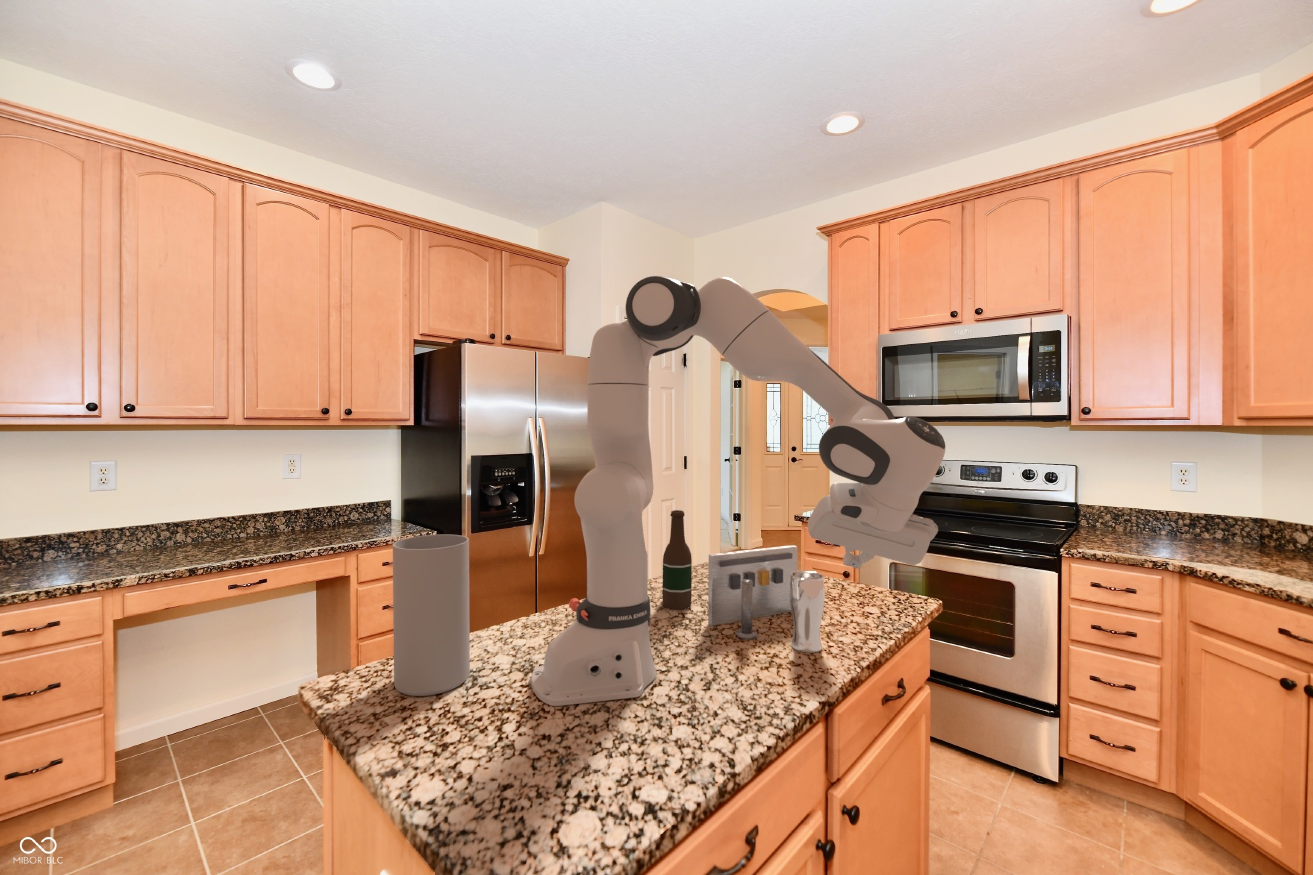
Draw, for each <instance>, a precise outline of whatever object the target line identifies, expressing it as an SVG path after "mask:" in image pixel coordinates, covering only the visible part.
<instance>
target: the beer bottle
mask: <svg viewBox="0 0 1313 875" xmlns="http://www.w3.org/2000/svg"><path fill="white" fill-rule="evenodd" d="M669 516H670V517H671V521H670V534H669V535H670V536H669V542H668V544H667V545H666V546H665V549H664V552H663V556H662V606H663V607H664V608H666V609H668V610H673V611H674V610H675V611H678V610H679V611H683V610H685V609H690V608H691V607H692V595H693V594H692V591H693V589H692V586H693V585H692V584H693V583H692V579H693V577H692V574H693V573H692V566H693V565H692V564H693V561H692V559H693V558H692V553H691V549H690V547H689V545H688V544H687V542H686V538H685V521H684V520H685V519H684V517H685V512H684V510H680V509H678V510H677V509H674V510H671V512H670V515H669Z"/></svg>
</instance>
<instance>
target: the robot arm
mask: <svg viewBox="0 0 1313 875" xmlns="http://www.w3.org/2000/svg"><path fill="white" fill-rule="evenodd" d="M624 308H625V315H626V316H625V317H626V319H627V320H625V321H623V322H615V323H610V324H609V323H608V324H606V325H603V326H602V327H601V328H599V329H597V330H596V331H595V333H594V335H593V338H592V343H591V348H590V353H589V359H588V366H587V367H588V369H587V412H586V413H587V414H586V415H587V418H586V419H587V421H586V422H587V425H586V426H587V432H588V434H589V438H590V442H591V445H592V452H593V456H594V463H595V464H594V466H595V467H593V468H592V469H590V470H589V471H588V472H587V473H586V474H585V475H584V476H583V477H582V479H581V480H580V482H579V483H578V485H577V488H576V489H575V492H574V501H573V502H574V507H575V510H576V513H577V515H578V517H579V518H580V524H581V531H582V535H583V539H584V540H583V541H584V546H585V554H586V594H587V595H586V597H585V598H584V599H583V600H582V601H581V602H580V600H579V599H578V598H576V597H574V598H571V599H570V601H569V602H568V607H569V608H570V609H571V611H572V612H574V613H576V619H575V621H573V622H571V624H570V625H569V626H568V627H567V628H565V629H564V630H562V631H561V632H560V633H559V634H558V635H557V636H556V637H555V638H553V639H552V640H551V641H550V642H549V644H548V645H547V648H546V651H545V655H544V662H543V665H540V666H537V667H535V668H534V669H533V671H532V674H531V677H530V678H531V679H530V685H531V689H532V691H533V692H534V694H535V696H536V697H537V698H538V699H539V700H540V701H541V702H543V703H544V704H547V705H549V706H552V707H560V706H570V705H577V704H588V703H595V702H605V701H614V700H622V699H631V698H637V697H640V696H641V695H643V693H644V689H646V687H647V686H648V685H649V684H651V683H652V682H653V681H655V678H656V677H657V670H656V665H655V662H654V659H653V654H652V648H651V639H650V631H649V627H650V626H651V612H652V611H651V599H650V596H649V595H648V591H649V589H648V588H649V587H648V584H649V583H648V582H649V581H648V580H649V579H648V578H649V577H648V575H649V574H648V570H649V569H648V568H649V567H648V565H649V564H648V561H649V560H648V557H649V555H648V551H647V549H646V542H645V537H644V527H643V511H644V510H646V508H647V507H648V506H649V505H650V503H651V501H652V498H653V495H654V480H653V479H654V477H653V463H652V461H653V460H652V451H651V442H650V431H649V430H650V429H649V407H650V406H649V404H650V403H649V398H650V396H649V393H650V392H649V391H650V389H649V388H650V386H649V382H650V380H649V379H650V378H649V374H650V371H649V370H650V363H651V359H652V357H658V356H660V355H661V356H662V355H663V354H666V353H669V352H673V351H676V350H678V349H679V350H680V349H681V348H683V347H685V346H687V344H689V342H690V341H691V340H692V339H693V338H694V336H697V337H701V338H703V339H705V340H706V341H707V342H708V343H710V345H712V346H713V347H714V348H715V349H716V351H717V352H719V354H720V355H721V356H722V357H723V358H724V359H725V360H726V361H727V362H728V363H729V365H731V367H733V369H735V370H736V371H737V372H739V373H740V374H741V375H743V376H745V377H746V378H748V379H749V380H751V381H755V382H783V383H784V382H785V383H788V384H792V385H794V386H796V387H798V388H799V389H801V390H802V391H803V392H804V393H805V394H806V395H808V396H809V397H810V399H812V401H814V402H815V403H817V405H819V407H821V408H822V409H823V410H824V411H826V413H827V414H829V416H830V417H831V419H832V423H831V425H830V426H829V427H828V428H827V430H826V431H825V432H824V433H823V435H822V436H821V438H820V440H819V444H818V453H819V457H820V459H821V462H822V463H823V465H825V467H826V468H827V469H828V470H829V471H830V472H831V473H833V474H835V475H838V476H839V477H842V478H845V479H848V480H850V481H853V482H833V483H832V484H831V486H829V495H826V496H824V497H823V498H821V499H820V500H819V501H818V503H817V505H816V506H815V507H814V509H813V510H812V512H811V514H810V516H809V518H808V521H807V530H808V534H809V536H810V537H811V538H812V539H815V540H817V541H821V542H826V543H829V544H833V545H836V546H840V547H844V551H845V554H844V556H843V557H842V564H843V565H844V566H848V567H851V568H854V569H859V570H860V569H861V567H862V566H863V564H865V563H867V562H869V561H871V560H873V559H874V558H875V556H877V557H880V558H885V559H888V560H892V561H895V562H899V563H904V564H906V565H910V566H916V565H919V564H920V563H921V562H922V561H923V560H924V558H925V556H926V553H927V552H928V549H929V546H930V542H931V541H932V540H934V538H935V537H936V535H937V534H938V532H939V526H938V525H937V524H936V523H935V522H934V520H933V519H931V518H927V517H923V516H922V517H921V516H919V515H917V514H914V511H915V509H916V508H917V506H918V504H919V499H920V497H921V495H922V493H923V492H924V491H926V489H928V488H929V486H930V485H931V483H932V481H934V478H935V476H936V474H937V472H938V470H939V469H940V467H941V464H942V462H943V459H944V457H945V454H946V442H945V439H944V437H943V435H942V433H941V432H940V431H938V429H936V427H935V426H934V425H932V424H931V423H929V422H928V421H926V420H924V419H922V418H919V417H915V416H910V415H909V416H908V415H907V416H904V417H902V418H897V419H896V417H895V415H894V413H893V411H892V410H891V409H890V408H889V407H888V406H887V405H886V404H884V403H883V402H881V401H880V400H878V399H876V398H874V397H871V396H869V395H867V394H865V393H862V392H861V391H858V390H857V389H856V388H855V387H853V386H852V384H850V383H849V382H848V381H846V379H844V378H843V377H842V375H840V374H839V373H838V372H837V371H836V370H835V369H833V368H832V367H831V366H830V365H829V364H828V363H827V362H826V361H825V360H823V358H821V357H820V356H819V355H818V354H817V353H815V352H814V351H813V350H812V349H810V348H809V347H808V346H807V345H805V343H803V342H802V341H801V340H800V339H799V338H798V337H797V336H795V334H794V333H793V332H792V331H791V330H789V328H788V327H787V326H785V324H784V323H783V322H782V321H781V320H780V319H779V318H778V317H777V316H776V315H775V314H774V313H773V312H772V311H771V310H770V309H769V308H768V307H767V306H766V305H765V304H764V303H763V302H762V301H761V300H760V299H759V298H758V297H756V296H755V295H754V294H753V293H752V292H750V291H749V290H747V288H745V287H744V286H742V285H741V284H740V283H738V282H736V281H735V280H734V279H732V278H729V277H725V276H723V277H718V278H715V279H712V280H710V281H708V282H707V283H706V284H704V285H703V286H702V287H701V288H699V289H698V290H697V287H695V285H693V284H692V283H689V282H684V281H681V280H677V279H674V278H671V277H667V276H660V275H652V276H647V277H644V278H642V279H641V280H639V281H637V282H636V283H635V284H634V285H633V286H632V287H631V289H630V291H629V292H628V294H627V297H626V301H625V307H624ZM855 551H857V552H858V551H859V552H861V553H860V554H854V552H855Z"/></svg>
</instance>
